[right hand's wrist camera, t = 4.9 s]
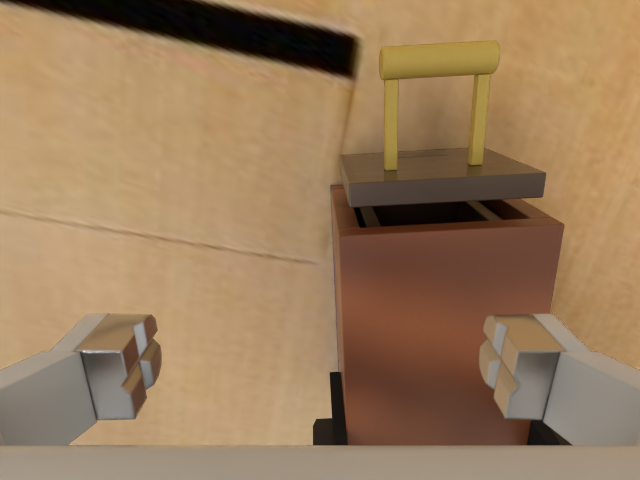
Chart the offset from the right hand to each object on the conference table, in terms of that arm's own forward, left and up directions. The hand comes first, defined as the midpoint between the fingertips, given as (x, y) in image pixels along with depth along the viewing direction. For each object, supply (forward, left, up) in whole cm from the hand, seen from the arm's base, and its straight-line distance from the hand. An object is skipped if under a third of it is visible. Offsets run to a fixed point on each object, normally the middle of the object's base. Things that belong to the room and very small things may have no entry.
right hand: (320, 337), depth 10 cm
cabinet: (+11, +4, -19) cm, 22 cm away
